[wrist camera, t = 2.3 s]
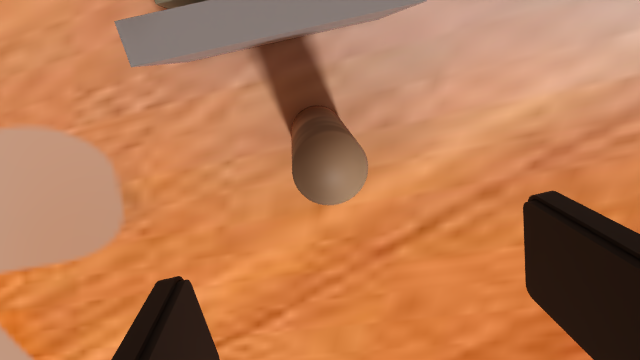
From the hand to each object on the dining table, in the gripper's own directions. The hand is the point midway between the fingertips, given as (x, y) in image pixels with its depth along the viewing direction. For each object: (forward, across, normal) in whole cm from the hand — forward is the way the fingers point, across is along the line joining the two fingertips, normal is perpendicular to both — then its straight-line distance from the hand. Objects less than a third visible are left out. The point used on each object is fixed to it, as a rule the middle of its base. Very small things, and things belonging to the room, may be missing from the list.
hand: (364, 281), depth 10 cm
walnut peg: (+20, 0, 0) cm, 20 cm away
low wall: (+20, +1, -8) cm, 22 cm away
